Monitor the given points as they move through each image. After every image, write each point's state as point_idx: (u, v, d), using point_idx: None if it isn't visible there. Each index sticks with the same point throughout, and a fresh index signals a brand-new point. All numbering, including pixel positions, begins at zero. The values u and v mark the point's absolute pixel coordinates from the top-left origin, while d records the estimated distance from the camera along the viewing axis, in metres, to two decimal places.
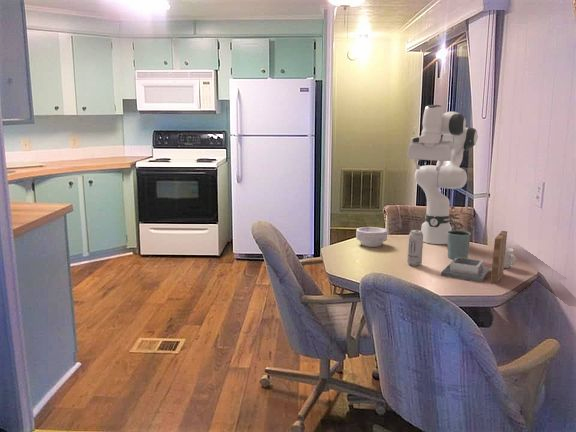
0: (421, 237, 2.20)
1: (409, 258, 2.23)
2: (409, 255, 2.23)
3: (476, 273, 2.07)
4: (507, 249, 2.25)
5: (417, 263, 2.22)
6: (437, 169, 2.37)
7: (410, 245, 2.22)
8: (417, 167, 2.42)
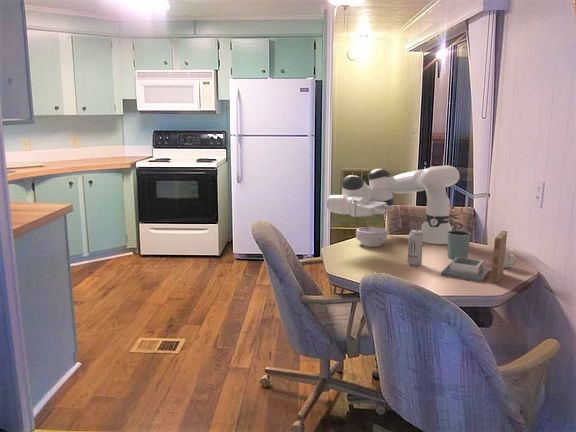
0: (421, 237, 2.20)
1: (409, 258, 2.23)
2: (409, 255, 2.23)
3: (476, 273, 2.07)
4: (507, 249, 2.25)
5: (417, 263, 2.22)
6: (391, 207, 2.32)
7: (410, 245, 2.22)
8: (382, 209, 2.24)
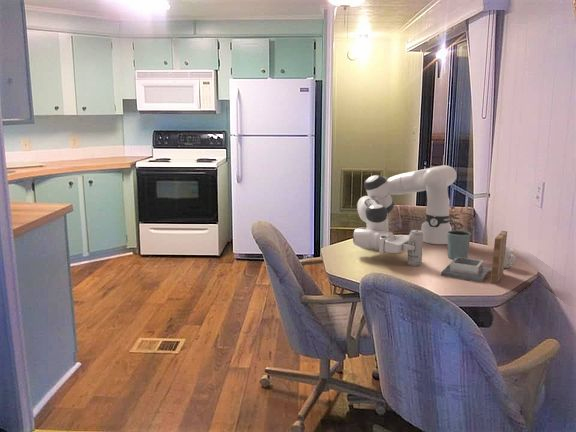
0: (421, 237, 2.20)
1: (409, 258, 2.23)
2: (409, 255, 2.23)
3: (476, 273, 2.07)
4: (507, 249, 2.25)
5: (417, 263, 2.22)
6: None
7: None
8: (413, 245, 2.20)
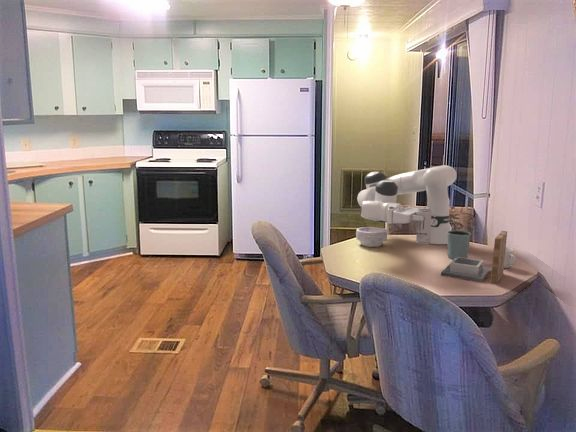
0: (429, 213, 2.16)
1: (418, 236, 2.18)
2: (418, 233, 2.18)
3: (476, 273, 2.07)
4: (507, 249, 2.25)
5: (427, 240, 2.17)
6: None
7: (418, 222, 2.17)
8: (421, 216, 2.15)
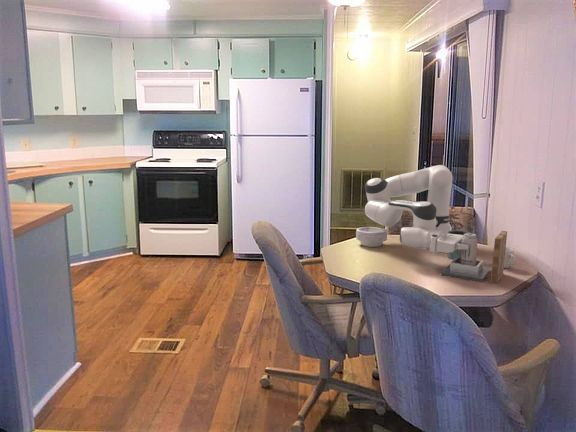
0: (476, 240, 2.09)
1: (463, 263, 2.11)
2: (463, 260, 2.11)
3: (476, 273, 2.07)
4: (507, 249, 2.25)
5: None
6: None
7: (464, 249, 2.10)
8: (466, 244, 2.08)
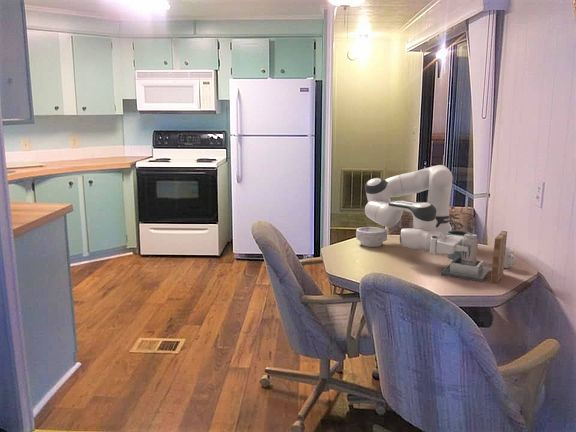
0: (476, 241, 2.09)
1: (463, 263, 2.11)
2: (463, 260, 2.11)
3: (476, 273, 2.07)
4: (507, 249, 2.25)
5: None
6: None
7: None
8: (466, 246, 2.08)
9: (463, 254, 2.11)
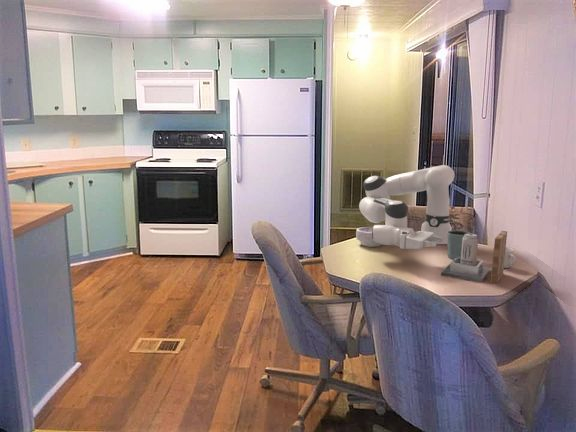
0: (476, 241, 2.09)
1: (463, 263, 2.11)
2: (463, 260, 2.11)
3: (476, 273, 2.07)
4: (507, 249, 2.25)
5: None
6: (440, 238, 2.22)
7: (464, 250, 2.10)
8: (434, 242, 2.14)
9: (463, 254, 2.11)
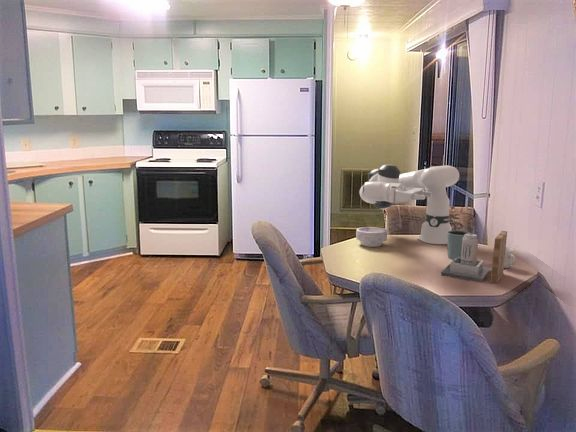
0: (476, 241, 2.09)
1: (463, 263, 2.11)
2: (463, 260, 2.11)
3: (476, 273, 2.07)
4: (507, 249, 2.25)
5: None
6: (430, 192, 2.25)
7: (464, 250, 2.10)
8: (423, 195, 2.18)
9: (463, 254, 2.11)
